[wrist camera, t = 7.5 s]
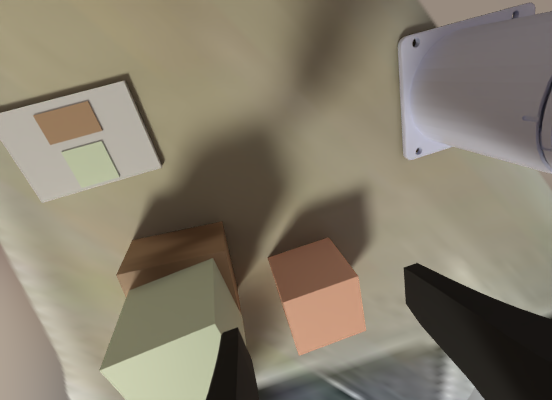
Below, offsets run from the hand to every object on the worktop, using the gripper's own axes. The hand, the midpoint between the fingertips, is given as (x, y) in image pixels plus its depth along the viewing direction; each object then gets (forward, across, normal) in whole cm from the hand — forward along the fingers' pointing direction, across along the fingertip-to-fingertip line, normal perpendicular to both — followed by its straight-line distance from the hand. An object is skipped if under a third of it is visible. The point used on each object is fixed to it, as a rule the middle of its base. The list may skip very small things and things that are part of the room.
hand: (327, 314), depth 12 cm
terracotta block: (+10, -1, +6) cm, 12 cm away
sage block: (+6, +7, +2) cm, 9 cm away
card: (+10, +10, -8) cm, 16 cm away
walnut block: (+10, +7, +2) cm, 13 cm away
